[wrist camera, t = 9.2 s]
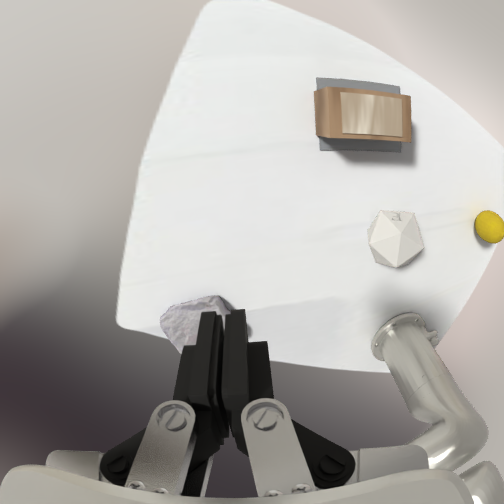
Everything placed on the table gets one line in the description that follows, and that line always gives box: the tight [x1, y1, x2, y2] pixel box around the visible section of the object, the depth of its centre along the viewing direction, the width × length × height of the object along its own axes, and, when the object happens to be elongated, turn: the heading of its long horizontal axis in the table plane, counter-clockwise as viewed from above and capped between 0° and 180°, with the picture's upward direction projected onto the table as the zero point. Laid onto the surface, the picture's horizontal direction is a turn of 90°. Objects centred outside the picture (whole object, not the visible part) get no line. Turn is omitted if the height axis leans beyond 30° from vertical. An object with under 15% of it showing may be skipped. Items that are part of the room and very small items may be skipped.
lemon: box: [475, 210, 504, 243], centre depth 37 cm, size 6×6×8 cm
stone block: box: [160, 296, 231, 354], centre depth 46 cm, size 12×5×10 cm
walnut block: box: [314, 87, 411, 142], centre depth 30 cm, size 6×6×11 cm
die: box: [367, 210, 424, 268], centre depth 37 cm, size 8×9×10 cm
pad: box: [316, 78, 401, 152], centre depth 33 cm, size 13×10×1 cm
